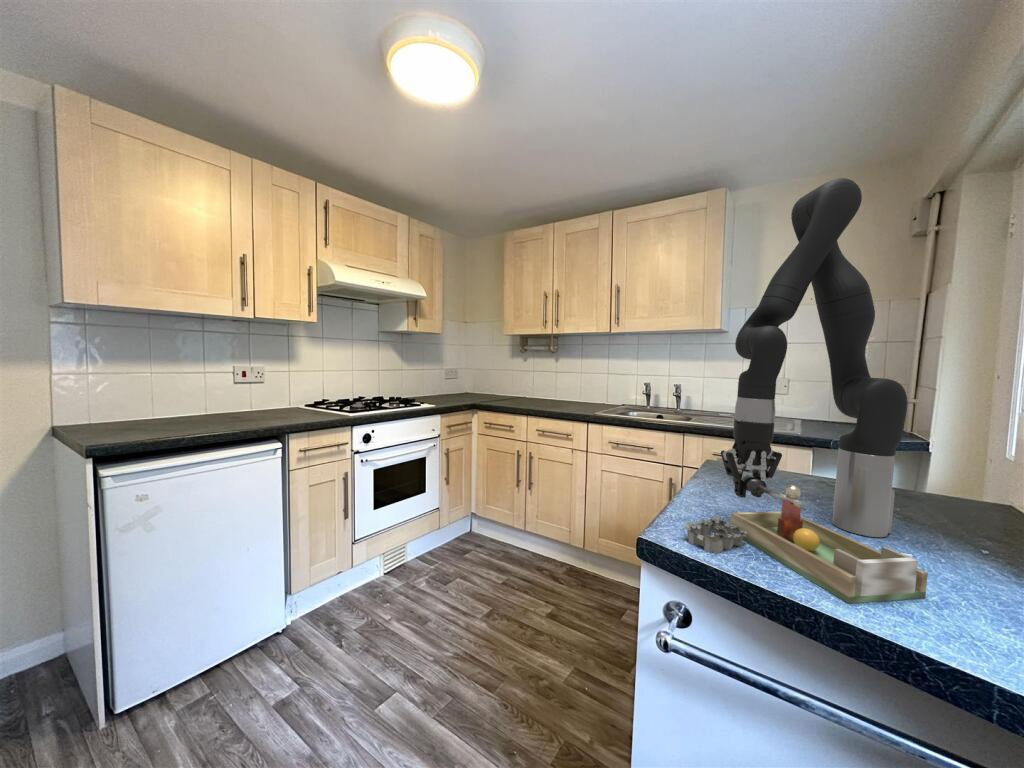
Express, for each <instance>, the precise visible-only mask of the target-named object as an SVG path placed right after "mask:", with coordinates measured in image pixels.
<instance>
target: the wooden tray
mask: <svg viewBox="0 0 1024 768" xmlns="http://www.w3.org/2000/svg"><path fill="white" fill-rule="evenodd" d="M781 515H782V510H780V511H779V510H778V511H750V512H749V511H747V512H746V511H745V512H741V511H740V512H730V517H729V518H730V519H729V523H732V524H733V525H734V526H739V529H740V530H741V531H743V532H744V531H745V530H746V531H747V533H746V537H745V536H744V538H743V541H744V542H746V543H748V544H750V545H751V546H752V547H754V548H756V549H757V550H759V551H761V552H763V553H764V554H766V555H768V557H769V556H770V557H771V558H773V559H774V560H775V561H778V562H779V563H781V564H782V565H784V566H785V567H787V568H789V569H791V570H792V571H793V572H795V573H797V574H798V575H800V576H802V577H803V578H805V579H807V580H808V581H810V582H811V583H813V584H815V585H817V586H818V587H820V588H822V589H824V591H826V592H829V594H831V595H833V596H835V597H837V598H838V599H840V600H842V601H843V602H845V603H847V604H859V603H860V604H861V603H874V602H875V603H876V602H888V601H889V602H890V601H901V600H902V601H904V600H917V599H925V598H926V596H927V594H926V593H927V586H928V584H927V583H928V576H929V573H928V572H927V571H925V570H922V569H920V568H918V564H919V563H918V562H919V560H918V559H915V558H912V557H911V556H908V555H906V554H903V553H901V552H898V551H896V550H894V549H892V548H889V547H887V546H881V549H880V550H878V549H875V548H873V547H871V546H869V545H866V544H864V543H862V542H859V541H857V540H855V539H852V538H850V537H848V536H846V535H844V534H841V533H839V532H838V531H835V530H833V529H830V528H827V527H826V526H823V525H821V524H819V523H817V522H814V521H812V520H810V519H808V518H805V517H803V516H801V515H800V519H801V520H803V526H802V528H806V529H810V530H812V531H813V532H815V533H816V534H817V536H818V537H819V540H820V545H819V547H818V548H817V549H816V550H814V551H806V550H805V549H803V548H801V547H799V546H797V545H796V544H795V543H794V541H788V540H786V539H784V538H782V537H780V536H778V535H777V529H778V518H781Z"/></svg>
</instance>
